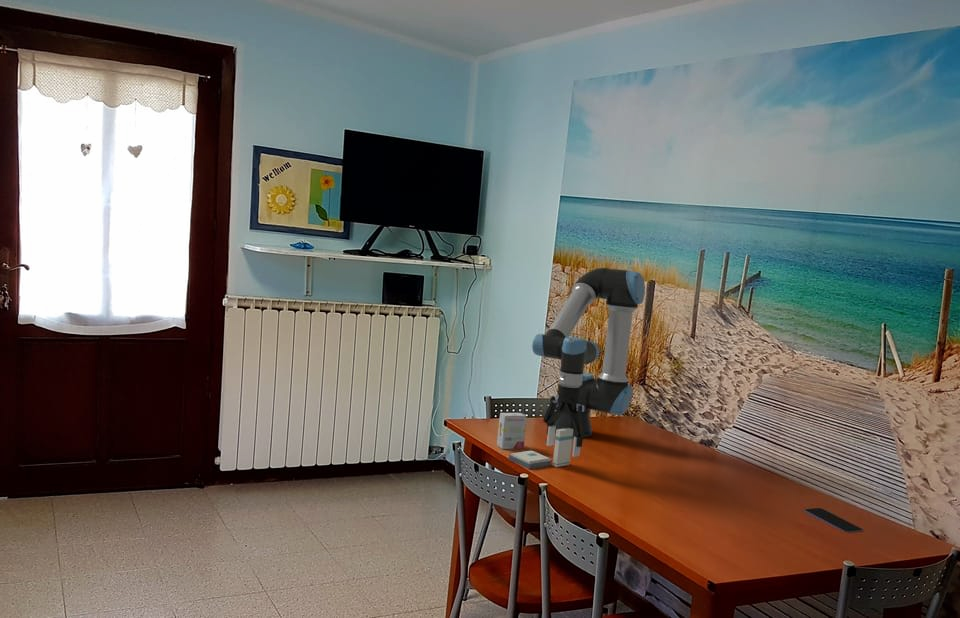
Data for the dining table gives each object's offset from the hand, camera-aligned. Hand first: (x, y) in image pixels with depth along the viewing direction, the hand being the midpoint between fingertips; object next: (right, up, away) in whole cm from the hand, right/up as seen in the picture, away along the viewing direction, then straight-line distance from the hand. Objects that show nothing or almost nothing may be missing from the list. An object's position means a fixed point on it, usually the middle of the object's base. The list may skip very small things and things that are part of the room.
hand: (562, 450), depth 230 cm
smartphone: (+75, -16, -26) cm, 81 cm away
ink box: (-17, -2, +16) cm, 23 cm away
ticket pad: (-11, -4, 0) cm, 11 cm away
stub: (-1, -5, +1) cm, 5 cm away
